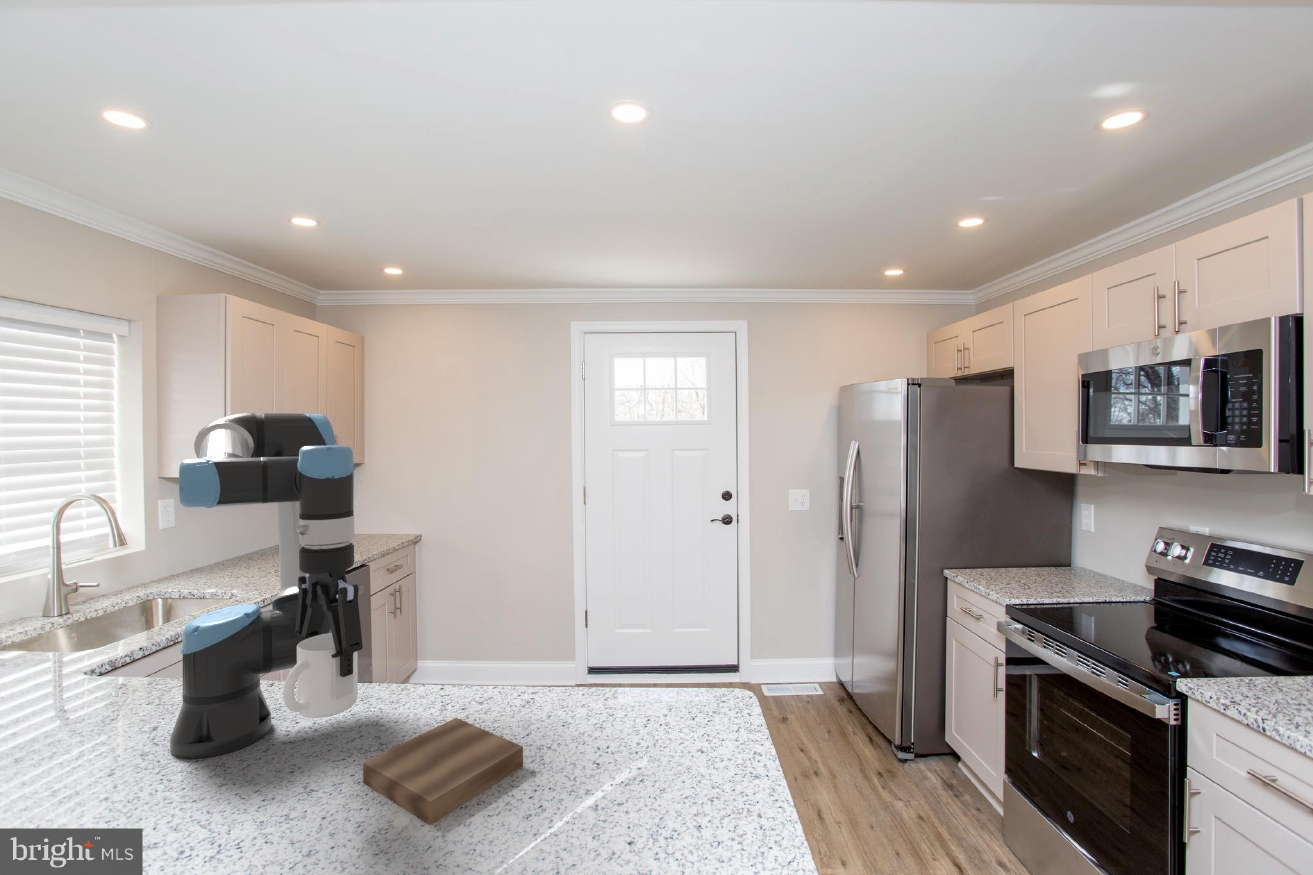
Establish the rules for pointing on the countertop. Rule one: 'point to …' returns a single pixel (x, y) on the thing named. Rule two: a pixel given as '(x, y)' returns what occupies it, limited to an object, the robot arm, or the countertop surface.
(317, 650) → the mug
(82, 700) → the countertop surface
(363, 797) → the countertop surface
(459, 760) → the walnut block
